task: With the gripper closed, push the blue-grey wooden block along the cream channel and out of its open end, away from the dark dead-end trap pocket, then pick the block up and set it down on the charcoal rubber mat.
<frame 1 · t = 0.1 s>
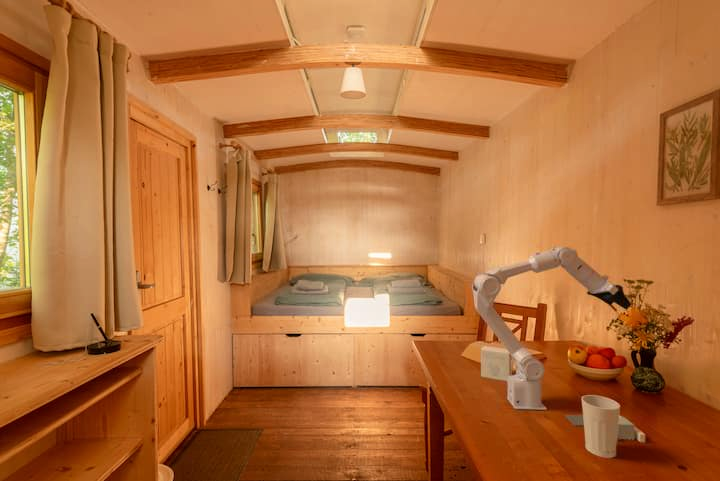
hand: (620, 304, 112), 32 cm above the table, tool tilted 50°, fingers open, 7 cm apart
skincare box: (496, 377, 137), on the table
block: (621, 435, 96), on the table
mat: (579, 421, 104), on the table
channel: (613, 428, 99), on the table
cup: (600, 450, 89), on the table
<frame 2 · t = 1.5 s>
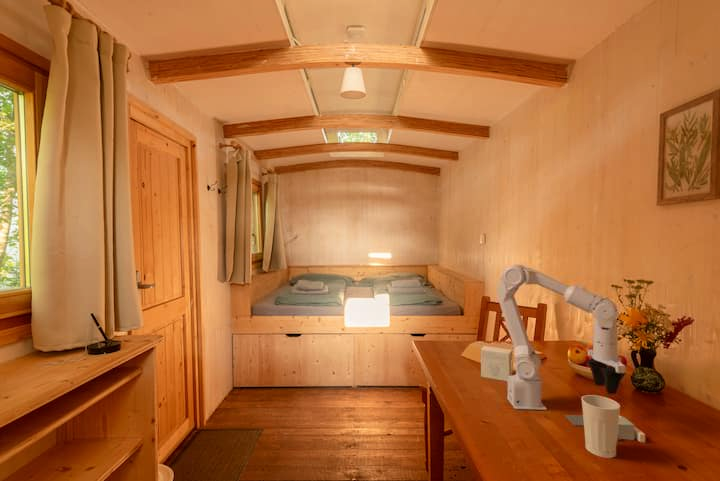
hand: (605, 389, 103), 9 cm above the table, tool pointing down, fingers open, 5 cm apart
nothing on the table moved.
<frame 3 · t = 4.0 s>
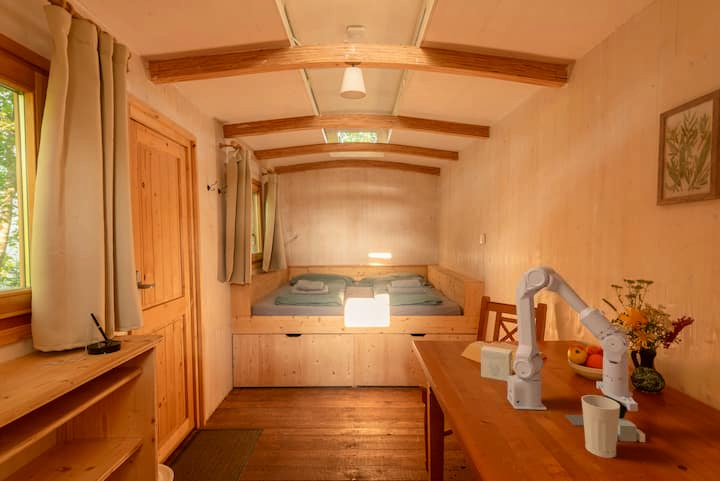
hand: (615, 425, 98), 1 cm above the table, tool pointing down, fingers closed
block: (623, 437, 95), on the table, touching gripper
everything else where it was.
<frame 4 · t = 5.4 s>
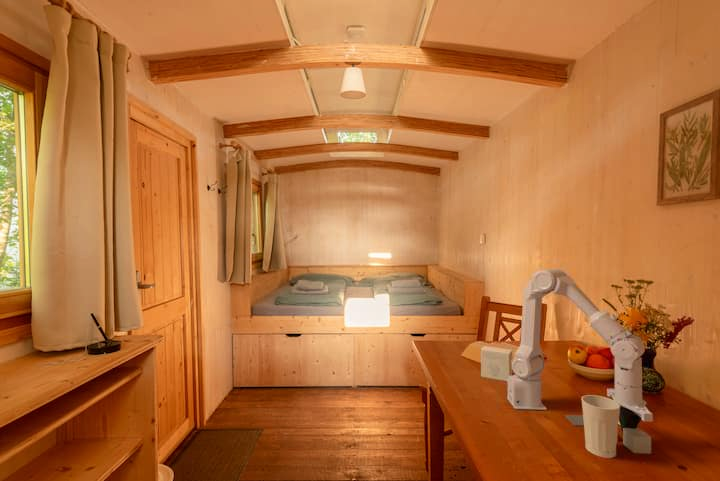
hand: (628, 435, 93), 1 cm above the table, tool pointing down, fingers closed
block: (636, 448, 90), on the table, touching gripper
everything else where it was.
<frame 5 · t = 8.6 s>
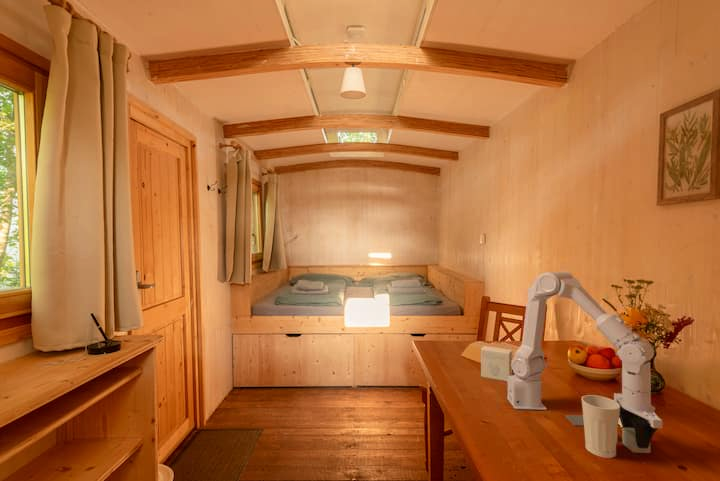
hand: (636, 442, 90), 1 cm above the table, tool pointing down, fingers closed on block, 4 cm apart
block: (636, 448, 90), on the table, touching gripper
everything else where it was.
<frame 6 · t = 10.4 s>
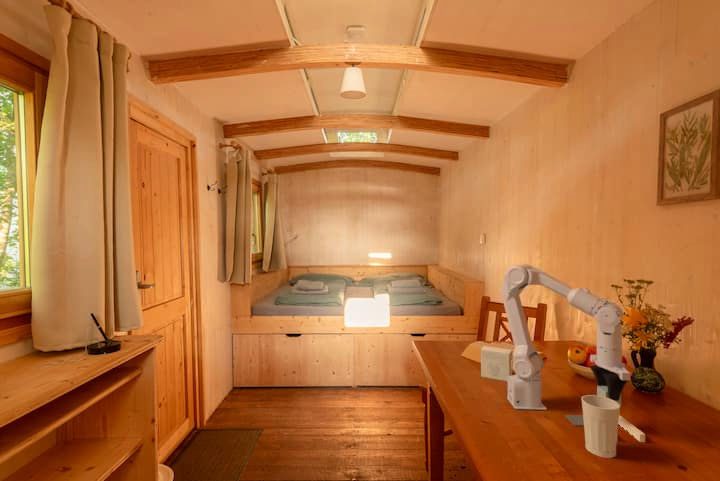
hand: (608, 396, 100), 9 cm above the table, tool pointing down, fingers closed on block, 4 cm apart
block: (608, 403, 100), point 7 cm above the table, touching gripper
everything else where it was.
when the fingers open (3 cm above the table, at t = 12.2 s): block drops 1 cm, resting on mat.
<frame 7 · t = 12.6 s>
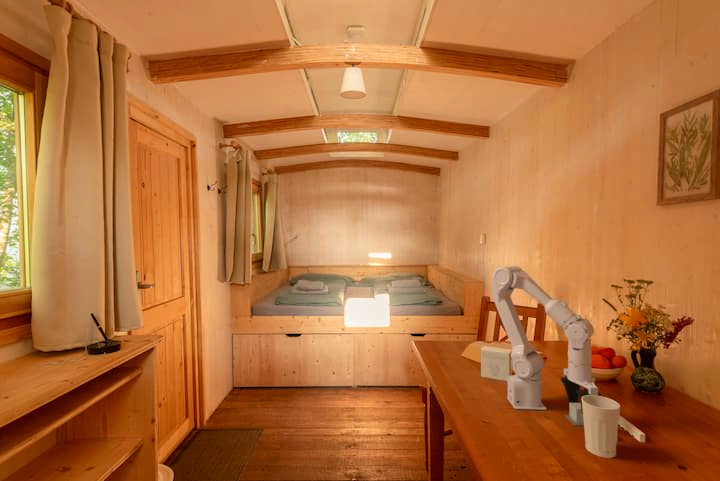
hand: (579, 409, 104), 3 cm above the table, tool pointing down, fingers open, 7 cm apart
block: (580, 419, 104), resting on mat
everything else where it was.
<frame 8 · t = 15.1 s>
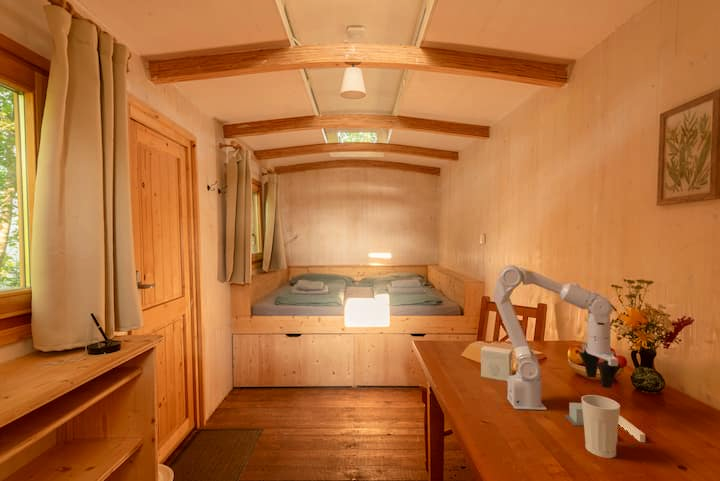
hand: (598, 381, 107), 10 cm above the table, tool pointing down, fingers open, 7 cm apart
nothing on the table moved.
at the end: block inside the target area on the mat (0.1 cm from its centre), point 0.4 cm above the mat's base; block inside the target area (15.2 cm from its centre), resting on mat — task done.
